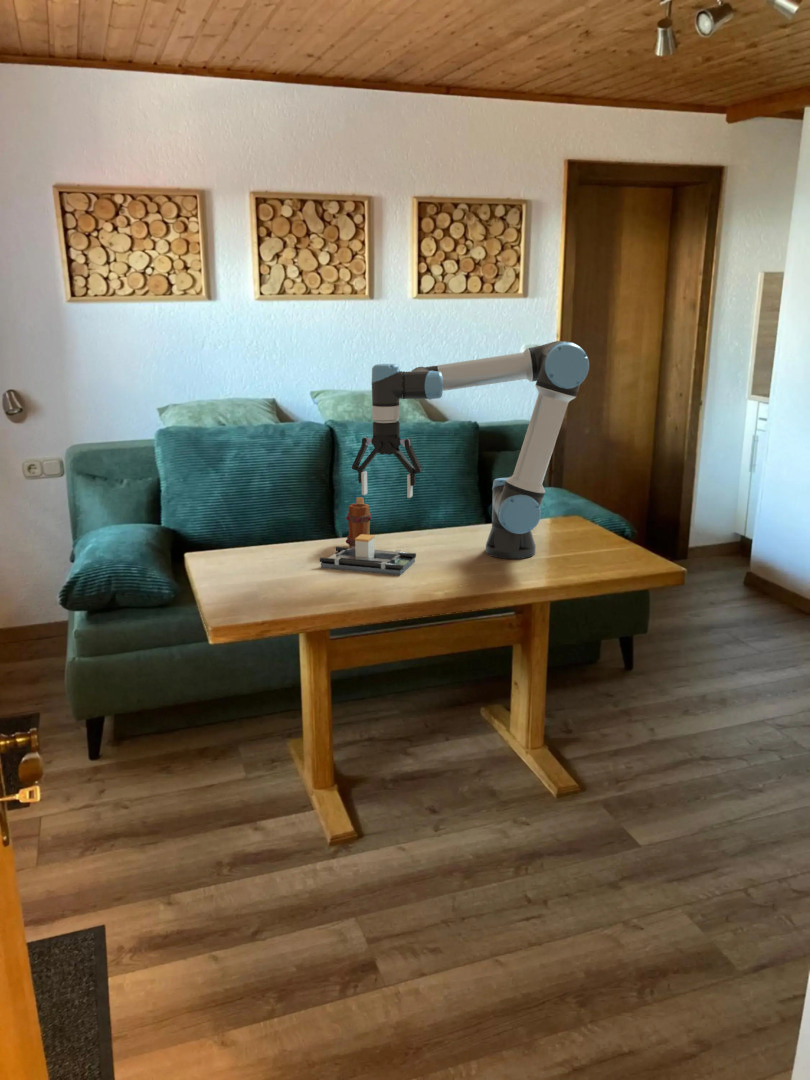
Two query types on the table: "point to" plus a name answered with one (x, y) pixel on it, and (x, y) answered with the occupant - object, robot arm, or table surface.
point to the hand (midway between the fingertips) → (387, 495)
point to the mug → (358, 520)
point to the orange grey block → (364, 546)
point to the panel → (369, 569)
